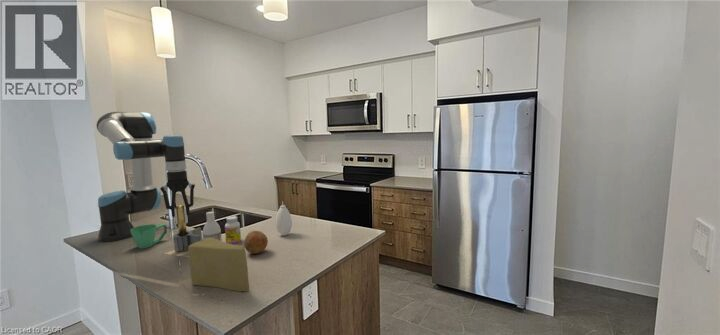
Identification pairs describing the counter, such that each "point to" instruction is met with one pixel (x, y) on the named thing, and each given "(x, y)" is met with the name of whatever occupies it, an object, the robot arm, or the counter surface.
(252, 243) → the onion
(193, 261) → the cheese
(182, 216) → the hinge pin
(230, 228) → the supplement bottle
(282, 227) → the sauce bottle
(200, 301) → the counter surface
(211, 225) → the bath foam
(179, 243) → the grey piece
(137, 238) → the mug
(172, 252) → the mounting board
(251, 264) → the counter surface
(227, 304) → the counter surface
